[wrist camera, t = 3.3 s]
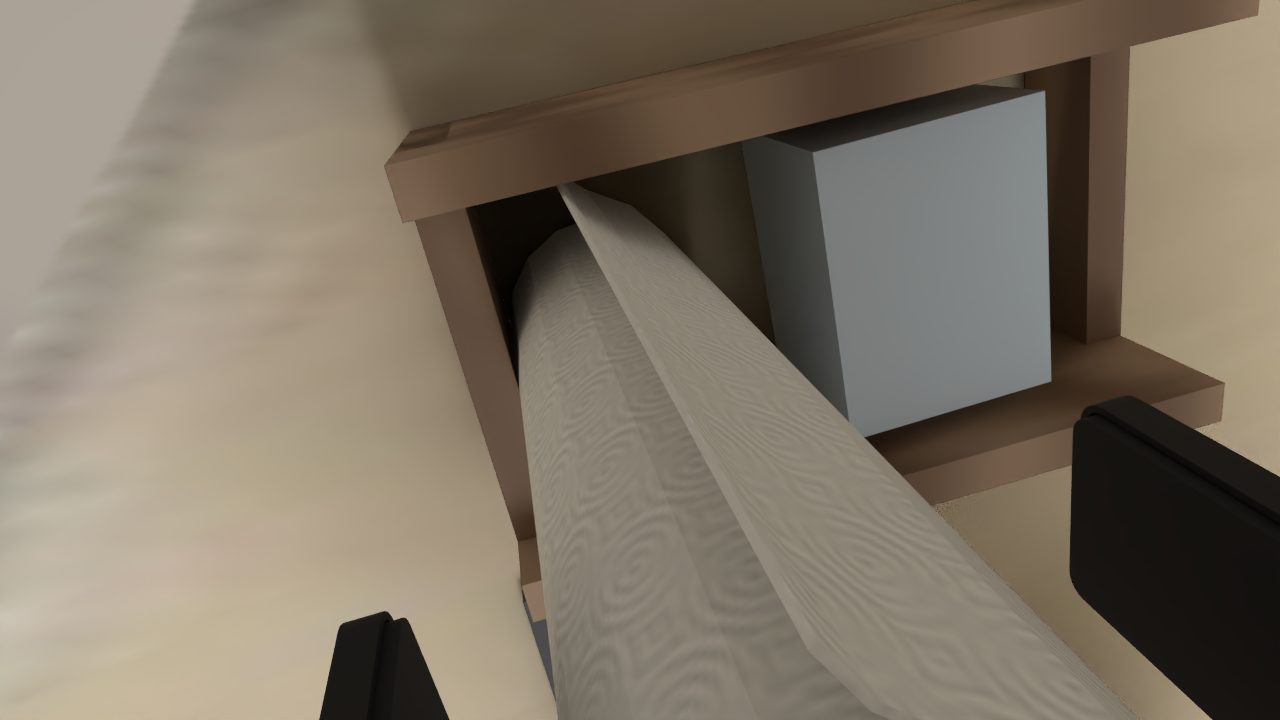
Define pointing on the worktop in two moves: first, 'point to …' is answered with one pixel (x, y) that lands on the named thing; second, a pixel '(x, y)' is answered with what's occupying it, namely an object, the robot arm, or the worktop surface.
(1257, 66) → the worktop surface
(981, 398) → the offcut block
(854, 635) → the paper towel roll
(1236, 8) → the rack
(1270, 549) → the robot arm
